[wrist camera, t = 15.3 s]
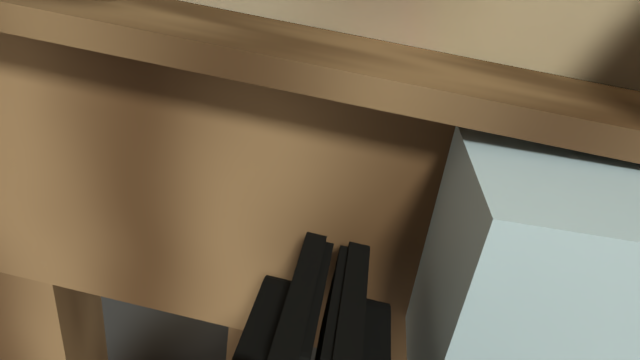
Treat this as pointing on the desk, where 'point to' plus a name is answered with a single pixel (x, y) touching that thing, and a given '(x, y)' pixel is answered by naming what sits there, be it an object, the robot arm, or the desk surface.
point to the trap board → (231, 165)
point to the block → (528, 256)
